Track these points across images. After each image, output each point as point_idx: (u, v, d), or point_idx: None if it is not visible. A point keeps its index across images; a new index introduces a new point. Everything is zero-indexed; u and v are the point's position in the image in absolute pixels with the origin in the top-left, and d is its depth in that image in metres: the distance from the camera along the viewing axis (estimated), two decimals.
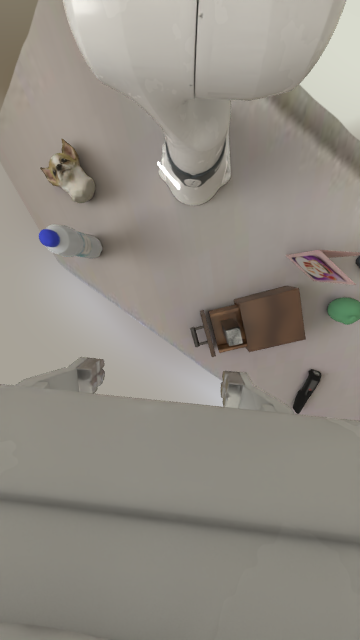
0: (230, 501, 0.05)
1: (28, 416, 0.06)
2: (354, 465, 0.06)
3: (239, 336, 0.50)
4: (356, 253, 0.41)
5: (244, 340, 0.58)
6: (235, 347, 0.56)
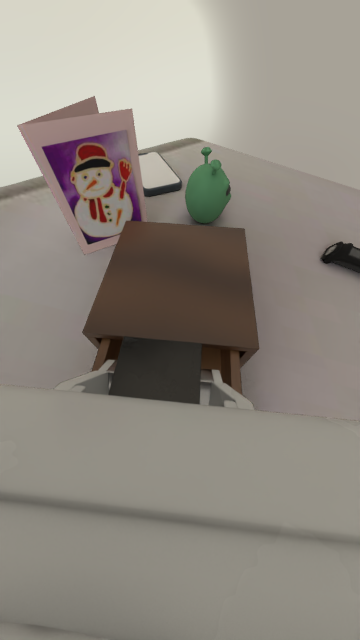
0: (230, 501, 0.05)
1: (28, 416, 0.06)
2: (354, 465, 0.06)
3: (162, 349, 0.11)
4: None
5: (223, 360, 0.19)
6: None
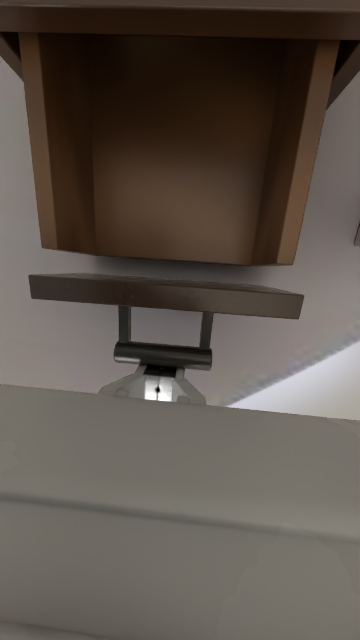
0: (230, 501, 0.05)
1: (28, 416, 0.06)
2: (354, 466, 0.06)
3: None
4: None
5: (284, 91, 0.09)
6: (306, 137, 0.08)
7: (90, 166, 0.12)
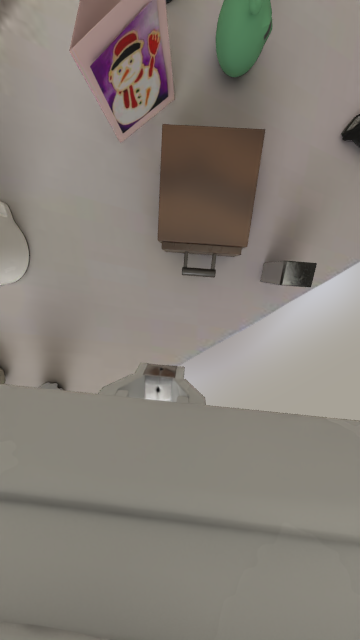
0: (230, 501, 0.05)
1: (28, 416, 0.06)
2: (354, 465, 0.06)
3: (301, 266, 0.29)
4: None
5: None
6: None
7: None
